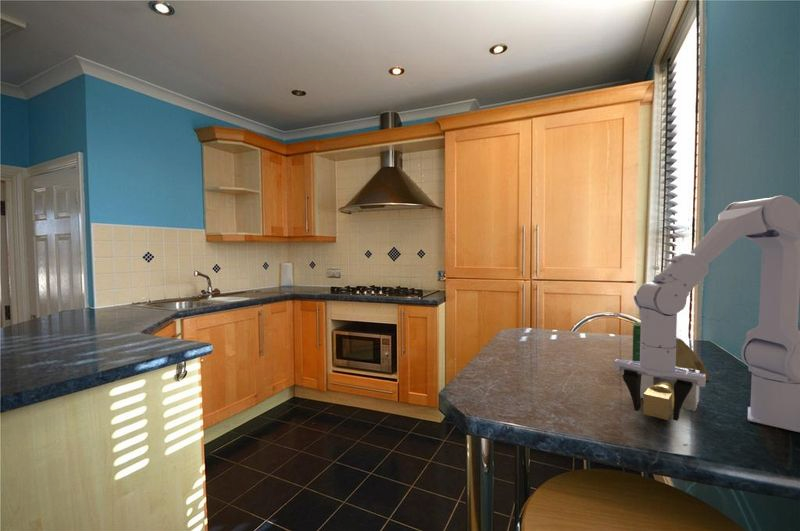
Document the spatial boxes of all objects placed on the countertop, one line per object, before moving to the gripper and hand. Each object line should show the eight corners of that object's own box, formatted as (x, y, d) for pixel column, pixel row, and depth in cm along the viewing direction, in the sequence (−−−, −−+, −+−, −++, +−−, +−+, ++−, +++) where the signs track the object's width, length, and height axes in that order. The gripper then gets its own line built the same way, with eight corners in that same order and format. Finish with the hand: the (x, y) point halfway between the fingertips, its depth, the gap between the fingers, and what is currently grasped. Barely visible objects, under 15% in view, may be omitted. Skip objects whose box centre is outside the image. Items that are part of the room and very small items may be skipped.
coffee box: (633, 364, 111) (634, 321, 111) (645, 366, 109) (646, 322, 109) (631, 371, 105) (632, 325, 104) (643, 373, 103) (644, 326, 102)
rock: (723, 373, 96) (688, 357, 106) (710, 348, 95) (676, 334, 104) (690, 398, 96) (658, 379, 106) (676, 374, 94) (645, 358, 104)
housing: (698, 401, 84) (699, 368, 83) (695, 411, 78) (696, 376, 78) (646, 390, 90) (646, 360, 90) (639, 398, 85) (640, 366, 85)
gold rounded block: (650, 399, 83) (650, 374, 82) (681, 407, 79) (682, 380, 79) (638, 416, 74) (639, 388, 74) (672, 425, 70) (673, 396, 70)
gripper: (610, 342, 74) (608, 409, 75) (704, 355, 64) (701, 433, 65) (619, 336, 79) (618, 399, 80) (707, 348, 69) (705, 420, 70)
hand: (656, 413), depth 73 cm, fingers open, 6 cm apart
